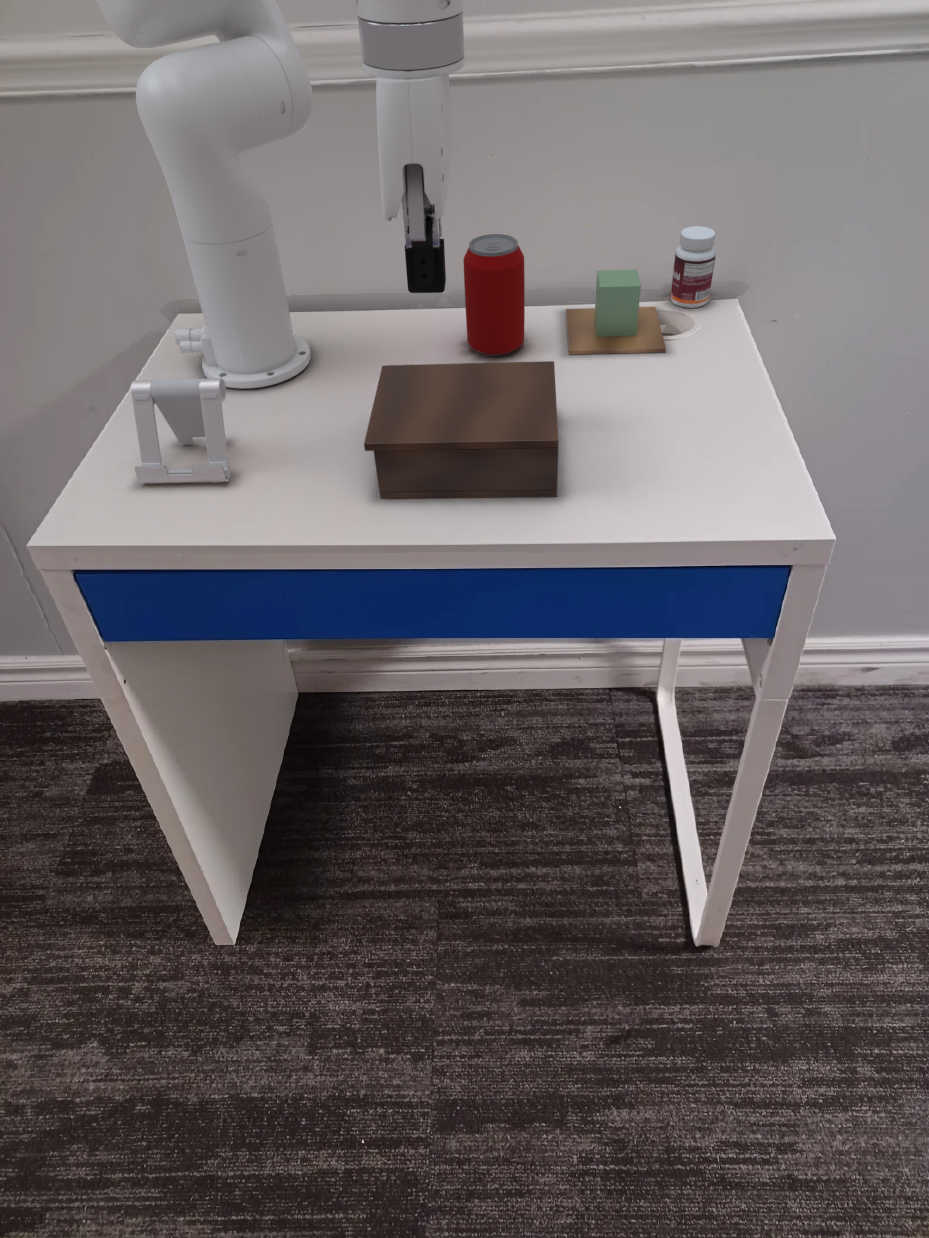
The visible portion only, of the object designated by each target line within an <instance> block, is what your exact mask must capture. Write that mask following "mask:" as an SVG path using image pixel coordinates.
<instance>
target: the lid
mask: <svg viewBox="0 0 929 1238" xmlns="http://www.w3.org/2000/svg"><path fill="white" fill-rule="evenodd" d="M375 390H376V391H375V395H374V399H373V403H372V408H371V412H370V415H369V416H370V417H369V419H368V425H367V429H366V433H365V438H364V443H363V447H364V451H365V452H374V451H390V450H445V449H500V448H555V447H558V448H559V425H558V406H557V405H558V404H557V392H556V391H557V386H556V367H555V361H554V360H549V361H548V360H547V361H543V360H542V361H509V362H508V361H506V362H467V363H463V362H462V363H428V364H427V363H425V364H423V363H422V364H384V365H381V370H380V373H379V378H378V381H377V386H376V389H375Z"/></svg>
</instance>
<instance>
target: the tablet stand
mask: <svg viewBox="0 0 929 1238" xmlns="http://www.w3.org/2000/svg"><path fill="white" fill-rule="evenodd" d="M130 393H131V394H130V395H131V401H132V408H133V415H134V421H135V426H136V434H137V441H138V447H139V454H140V461H141V465H139V466H134V472H135V476H136V479H137V482H138V483H139V484H150V485H156V484H185V483H188V484H189V483H194V484H195V483H215V484H218V483H219V484H220V483H228V482H229V481H230V475H231V472H230V462H229V455H228V453H229V452H228V446H227V437H226V429H225V421H224V413H223V402H224V401H225V400H226V398H227V387H226V385H225V382H224V380H223V379H222V378H207V377H206V378H170V379H168V378H167V379H138V380H137V379H136V380H132V381H131V385H130ZM155 405H156V406H157V408H158V410H159V411H160V413H161V415H162V416H163V418H164V419H165V421H166V423H167V425H168V426H169V428H170V429H171V431H172V433H173V434H174V436H175V438H176V440H177V441H178V443H179V444H181V445H184V446H185V445H186V446H187V445H189V446H191V445H194V444H195V443H194V439H193V438H205V445H206V453H207V459H208V460H207V464H194V465H193V464H191V465H190V469H168V466H166V465H163V461H162V455H161V448H160V439H159V434H158V433H159V432H158V426H157V421H156V414H155V413H156V412H155Z"/></svg>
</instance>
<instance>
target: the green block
mask: <svg viewBox="0 0 929 1238" xmlns="http://www.w3.org/2000/svg"><path fill="white" fill-rule="evenodd" d="M641 285H642V284H641V281H640V276H639V272H638V269H637V268H636V269H606V270H605V269H601V270H596V287H595V302H594V303H595V305H594V308H595V326H596V334H597V337H612V336H636V334H637V323H638V312H639V307H640V300H641V289H642V286H641Z"/></svg>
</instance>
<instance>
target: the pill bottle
mask: <svg viewBox="0 0 929 1238" xmlns="http://www.w3.org/2000/svg"><path fill="white" fill-rule="evenodd" d="M679 238H680V239H679V245H678V247H677V248H676V250H675V253H674V263H673V271H672V278H671V279H672V280H671V289H670V301H671V303H672V304H674V305H675V306H678V307H681V308H689V309H695V308H700V307H703V306H705V305H707V304H708V302H709V301H710V294H711V288H712V281H713V275H714V268H715V261H716V256H717V255H716V254H717V252H716V249H715V247H714V246H715V240H716V231H715V230H714V229H712V228H711V227H707V226H701V225H695V226H687V227H685V228H683V229H682V230H681V231H680V237H679Z"/></svg>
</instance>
